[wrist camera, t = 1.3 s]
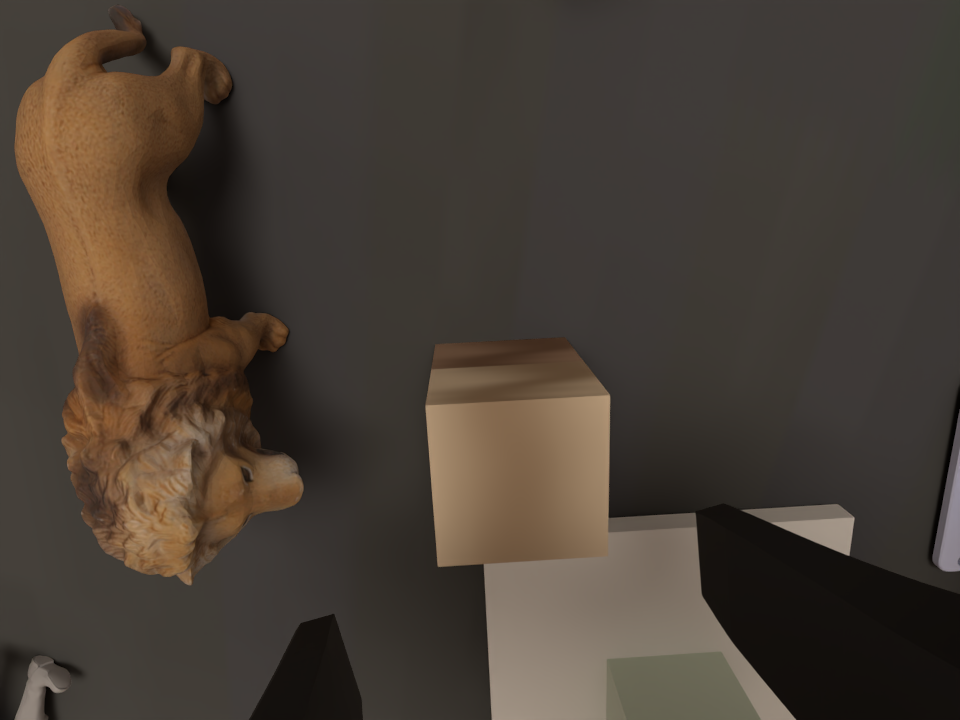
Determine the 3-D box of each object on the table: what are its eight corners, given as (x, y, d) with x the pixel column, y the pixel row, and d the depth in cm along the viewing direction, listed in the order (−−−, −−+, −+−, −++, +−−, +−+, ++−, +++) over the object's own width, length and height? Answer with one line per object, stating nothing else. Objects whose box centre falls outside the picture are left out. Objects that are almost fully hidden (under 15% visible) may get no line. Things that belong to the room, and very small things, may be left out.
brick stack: (564, 337, 21) (609, 395, 14) (565, 455, 22) (607, 556, 16) (435, 343, 20) (425, 405, 14) (443, 463, 22) (437, 566, 16)
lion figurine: (360, 428, 21) (292, 584, 13) (223, 465, 21) (62, 644, 13) (205, -12, 17) (-49, -226, 9) (39, 39, 18) (-372, -121, 9)
